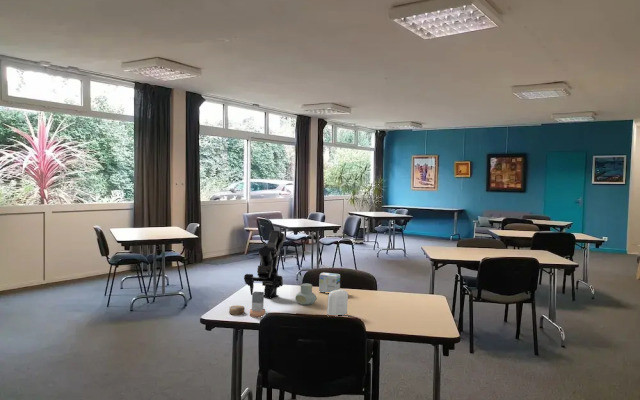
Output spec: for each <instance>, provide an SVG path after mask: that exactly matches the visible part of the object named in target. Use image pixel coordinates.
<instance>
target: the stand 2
mask: <svg viewBox="0 0 640 400" xmlns="http://www.w3.org/2000/svg"><path fill="white" fill-rule="evenodd" d="M264 314H265V315H266V309H265V308H263V310H262V311H261V312H258V311H252V308H250V309H249V316H250V317H251V318H255V317H256V319H257V318H258V317H260V318H262V317H261V316H263V315H264ZM258 319H259V318H258Z"/></svg>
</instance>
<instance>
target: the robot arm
mask: <svg viewBox="0 0 640 400" xmlns="http://www.w3.org/2000/svg"><path fill="white" fill-rule="evenodd" d="M285 235H286V234H285V233H283V232H281V231H279V230H275V229H273V230H270V232H269V235H268V240H267V243H265V244H264V245H263V247H261V248H260V249H259V251H258V255H259V258H260V265H257V276H258V277H257V276H254V274H253V273H245V274H244V275H243V281H244V283H245V284H246V285H247V286H249V290H250V295H251V296H252V294H253V293H254V288H255V287H254V286H255V285H254V283H255V282H261V283H262V285H261V286H263V287H264V290H263V292H264V298H268V299H275V298H277V297H280V295H278V293H277V291H278V290H277V289H278V288H280V287H283V285H284V280H283V276H282V275H279V274H278V270H277V267H278V266H277V265H278V259H279V255H280V248H281V247H282V246H283V245H284V242H285V240H286V236H285Z"/></svg>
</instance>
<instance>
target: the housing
mask: <svg viewBox="0 0 640 400" xmlns="http://www.w3.org/2000/svg"><path fill="white" fill-rule="evenodd" d="M251 297H252V298H251V309H252V311H258V312H261V311H262V310H263V309H264V300H265V297H264V291H253V293H252V295H251Z"/></svg>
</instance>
